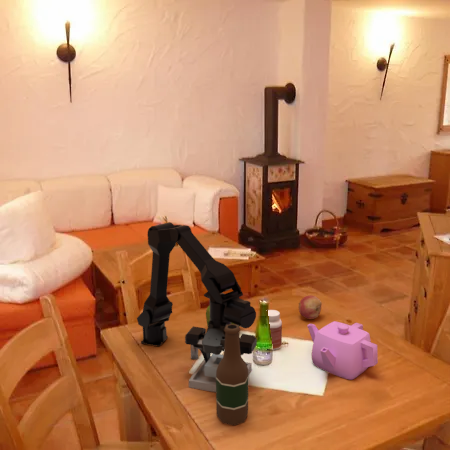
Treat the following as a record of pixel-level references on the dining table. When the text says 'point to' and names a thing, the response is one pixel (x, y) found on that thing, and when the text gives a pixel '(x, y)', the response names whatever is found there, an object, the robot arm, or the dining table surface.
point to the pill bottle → (275, 328)
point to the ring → (212, 365)
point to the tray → (206, 378)
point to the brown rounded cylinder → (194, 353)
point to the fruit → (310, 307)
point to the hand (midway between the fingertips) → (220, 367)
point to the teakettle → (342, 349)
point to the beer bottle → (232, 381)
